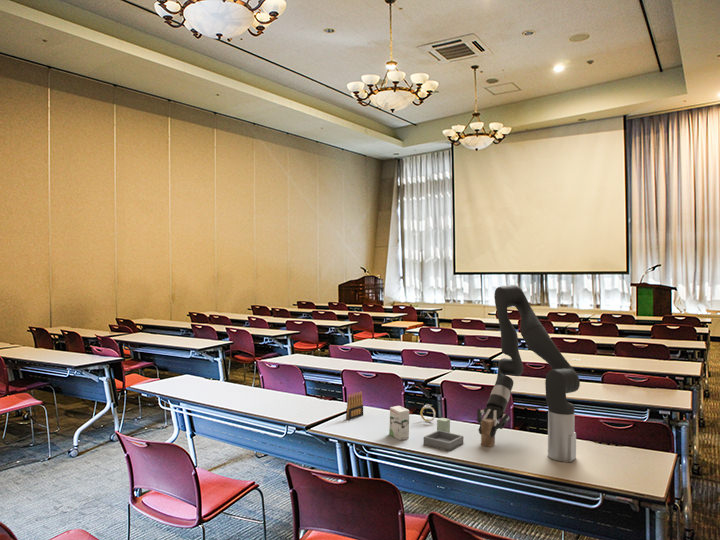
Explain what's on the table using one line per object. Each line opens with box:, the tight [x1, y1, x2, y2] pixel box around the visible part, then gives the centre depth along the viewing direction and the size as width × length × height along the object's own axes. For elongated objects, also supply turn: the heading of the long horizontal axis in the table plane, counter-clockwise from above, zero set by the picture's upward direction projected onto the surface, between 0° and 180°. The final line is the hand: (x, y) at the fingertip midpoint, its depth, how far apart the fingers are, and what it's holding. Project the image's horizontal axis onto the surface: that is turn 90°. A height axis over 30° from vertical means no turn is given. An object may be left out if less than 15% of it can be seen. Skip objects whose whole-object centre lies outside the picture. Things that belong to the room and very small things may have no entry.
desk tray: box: [423, 430, 464, 452], centre depth 202 cm, size 12×12×3 cm
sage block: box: [436, 417, 451, 433], centre depth 216 cm, size 4×4×6 cm
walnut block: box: [480, 418, 496, 448], centre depth 202 cm, size 4×4×10 cm
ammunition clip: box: [345, 390, 364, 421], centre depth 238 cm, size 11×2×12 cm, turn 140°
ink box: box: [388, 405, 410, 441], centre depth 211 cm, size 9×5×12 cm, turn 28°
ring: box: [419, 403, 437, 423], centre depth 232 cm, size 7×3×8 cm, turn 61°
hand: (485, 434), depth 200 cm, fingers closed on walnut block, 4 cm apart
